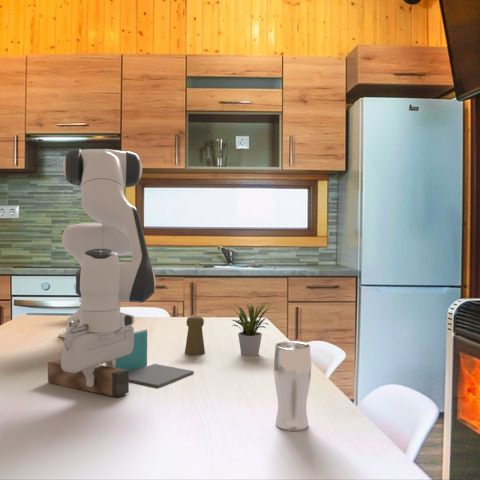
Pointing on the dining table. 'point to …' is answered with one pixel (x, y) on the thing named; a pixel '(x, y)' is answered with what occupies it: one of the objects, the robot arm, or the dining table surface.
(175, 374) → the mat
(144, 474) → the dining table surface
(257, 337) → the house plant
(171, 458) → the dining table surface
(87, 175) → the robot arm
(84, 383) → the wooden handle bar
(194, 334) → the olive tapered upright piece
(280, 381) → the beer glass
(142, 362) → the tile
